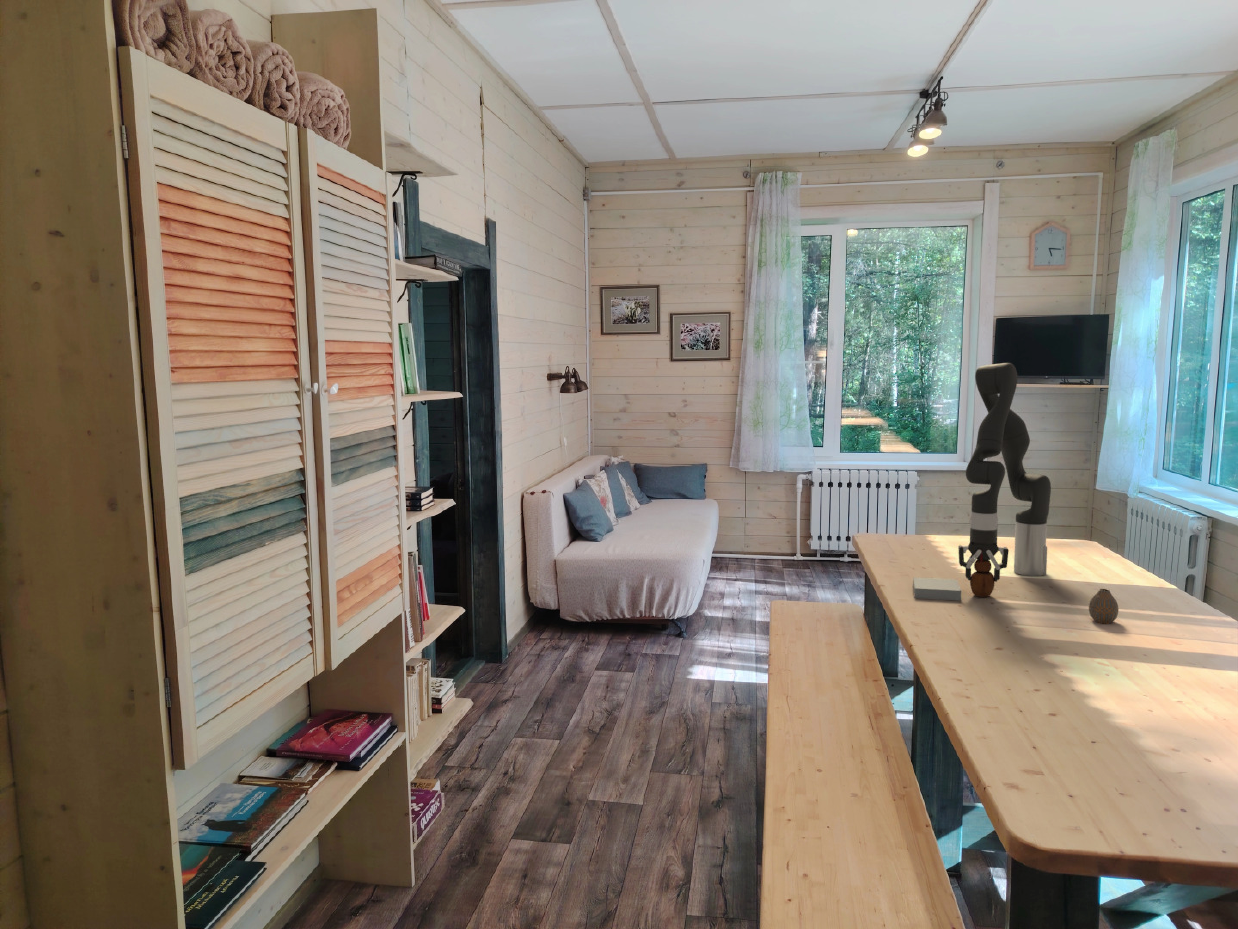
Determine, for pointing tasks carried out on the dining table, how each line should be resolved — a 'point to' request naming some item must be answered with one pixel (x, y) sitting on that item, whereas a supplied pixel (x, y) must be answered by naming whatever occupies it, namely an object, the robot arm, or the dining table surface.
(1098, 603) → the vase
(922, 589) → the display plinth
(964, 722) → the dining table surface
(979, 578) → the wooden figurine
